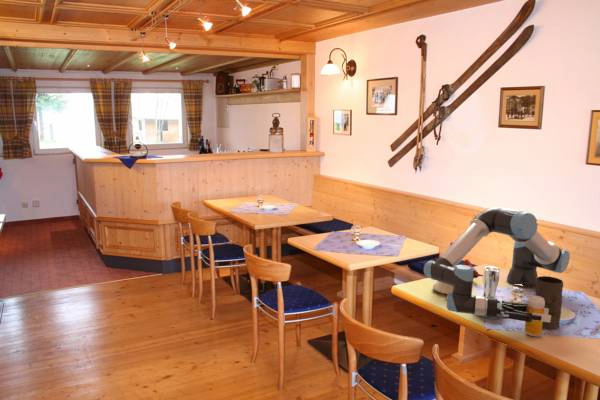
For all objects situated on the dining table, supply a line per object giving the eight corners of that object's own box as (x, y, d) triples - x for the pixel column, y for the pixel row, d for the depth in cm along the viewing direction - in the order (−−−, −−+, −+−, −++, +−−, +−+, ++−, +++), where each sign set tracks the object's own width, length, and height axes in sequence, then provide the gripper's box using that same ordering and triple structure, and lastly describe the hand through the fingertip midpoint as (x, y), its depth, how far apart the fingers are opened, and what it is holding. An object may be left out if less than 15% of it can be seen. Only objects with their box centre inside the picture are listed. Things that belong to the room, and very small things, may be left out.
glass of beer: (521, 330, 199) (525, 295, 196) (535, 330, 199) (539, 294, 197) (529, 337, 193) (533, 301, 190) (544, 336, 194) (548, 300, 191)
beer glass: (498, 302, 229) (501, 271, 226) (482, 301, 230) (485, 270, 227) (495, 297, 236) (498, 266, 233) (480, 295, 237) (482, 265, 234)
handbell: (432, 284, 251) (436, 236, 246) (464, 288, 247) (468, 239, 242) (432, 295, 236) (435, 244, 232) (465, 299, 232) (470, 247, 228)
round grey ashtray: (487, 305, 225) (488, 295, 224) (509, 316, 214) (510, 305, 213) (467, 309, 220) (468, 299, 219) (488, 320, 209) (489, 309, 208)
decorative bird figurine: (464, 275, 265) (466, 257, 263) (485, 287, 248) (487, 268, 247) (460, 276, 264) (461, 258, 263) (480, 287, 248) (482, 268, 246)
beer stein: (566, 329, 201) (570, 282, 199) (542, 331, 199) (546, 282, 197) (542, 316, 216) (545, 272, 214) (520, 317, 215) (522, 273, 212)
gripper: (485, 306, 210) (545, 315, 203) (485, 324, 192) (551, 334, 185) (486, 290, 209) (547, 297, 201) (487, 306, 191) (554, 315, 183)
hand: (549, 315), depth 193 cm, fingers closed on glass of beer, 6 cm apart
